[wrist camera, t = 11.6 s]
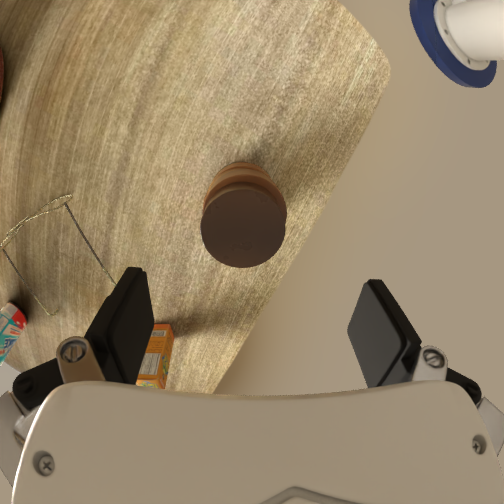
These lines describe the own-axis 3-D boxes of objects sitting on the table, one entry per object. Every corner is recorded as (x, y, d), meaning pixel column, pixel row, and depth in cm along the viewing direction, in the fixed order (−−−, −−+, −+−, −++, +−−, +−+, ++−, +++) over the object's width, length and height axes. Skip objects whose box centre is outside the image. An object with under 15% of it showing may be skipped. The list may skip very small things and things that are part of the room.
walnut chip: (204, 179, 19) (200, 187, 17) (284, 184, 20) (290, 192, 18) (203, 251, 22) (200, 266, 20) (276, 255, 23) (279, 269, 21)
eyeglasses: (74, 183, 25) (50, 196, 21) (130, 287, 32) (117, 311, 28) (10, 231, 27) (-10, 246, 23) (58, 310, 34) (44, 331, 30)
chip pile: (210, 158, 26) (199, 172, 19) (278, 163, 26) (291, 177, 20) (207, 223, 29) (199, 255, 22) (271, 226, 29) (280, 259, 23)
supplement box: (176, 339, 37) (165, 396, 28) (155, 338, 37) (139, 393, 28) (172, 322, 35) (157, 380, 26) (149, 322, 35) (130, 378, 26)
